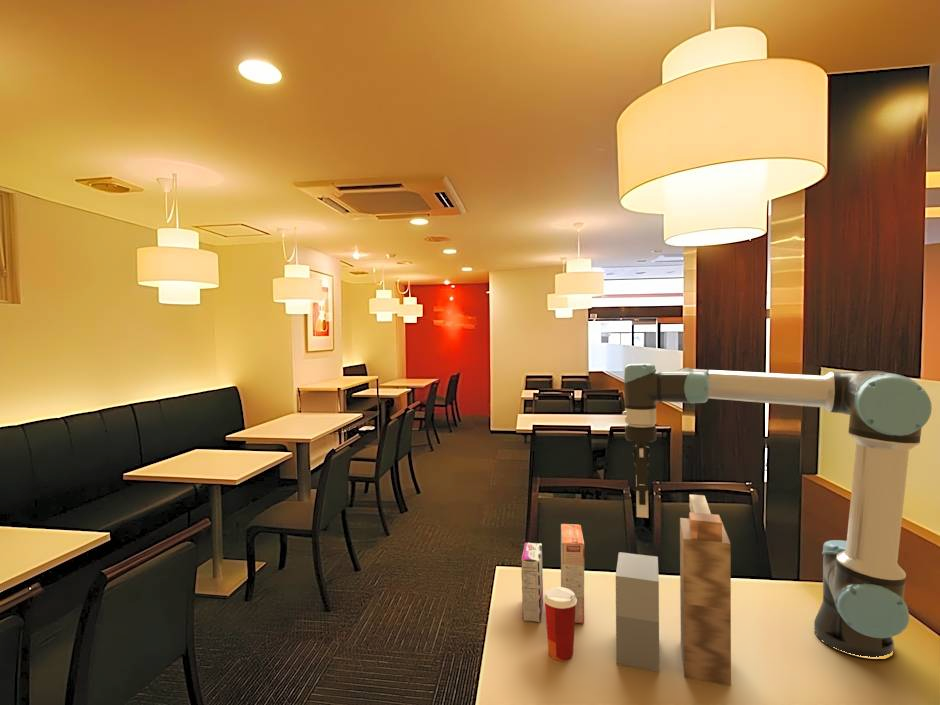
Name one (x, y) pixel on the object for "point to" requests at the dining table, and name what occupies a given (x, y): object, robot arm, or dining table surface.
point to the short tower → (637, 611)
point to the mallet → (703, 520)
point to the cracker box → (573, 565)
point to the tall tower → (705, 606)
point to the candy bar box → (532, 582)
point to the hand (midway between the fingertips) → (642, 508)
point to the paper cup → (560, 622)
